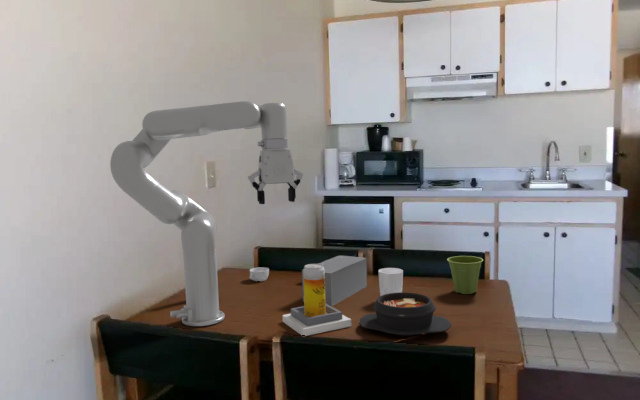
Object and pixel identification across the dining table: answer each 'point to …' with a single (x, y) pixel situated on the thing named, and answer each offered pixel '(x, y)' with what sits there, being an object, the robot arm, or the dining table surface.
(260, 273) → the teacup
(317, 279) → the beer can
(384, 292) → the white cup
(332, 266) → the grey rectangular block
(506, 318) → the dining table surface
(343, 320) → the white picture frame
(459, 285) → the plant pot
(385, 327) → the casserole
